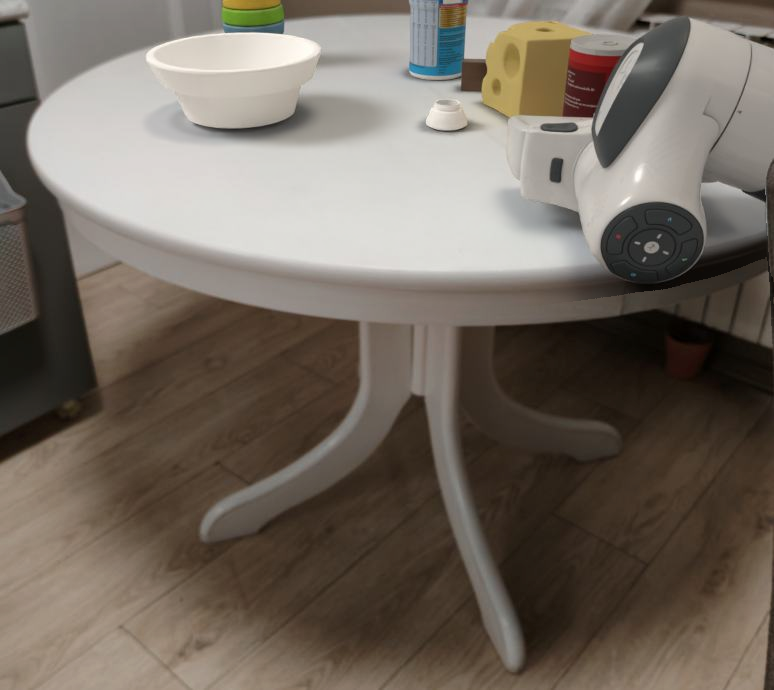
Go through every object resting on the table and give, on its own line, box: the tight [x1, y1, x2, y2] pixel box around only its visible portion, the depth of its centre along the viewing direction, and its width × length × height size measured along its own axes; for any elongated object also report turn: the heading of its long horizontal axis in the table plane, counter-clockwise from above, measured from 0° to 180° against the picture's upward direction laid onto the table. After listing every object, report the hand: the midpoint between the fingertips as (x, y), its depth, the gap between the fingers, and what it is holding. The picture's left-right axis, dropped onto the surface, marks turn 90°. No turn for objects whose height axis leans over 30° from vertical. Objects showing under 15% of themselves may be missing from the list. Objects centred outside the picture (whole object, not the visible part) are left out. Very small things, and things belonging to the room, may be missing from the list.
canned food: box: [562, 33, 638, 118], centre depth 91 cm, size 8×8×11 cm
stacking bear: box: [221, 0, 285, 34], centre depth 121 cm, size 11×10×18 cm
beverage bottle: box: [408, 0, 470, 81], centre depth 114 cm, size 8×8×20 cm
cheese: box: [481, 20, 594, 119], centre depth 101 cm, size 10×11×10 cm
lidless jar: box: [425, 98, 468, 132], centre depth 97 cm, size 5×3×5 cm
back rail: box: [460, 58, 487, 93], centre depth 110 cm, size 24×2×4 cm, turn 83°
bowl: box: [145, 32, 323, 129], centre depth 100 cm, size 21×21×8 cm
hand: (607, 121), depth 81 cm, fingers closed
